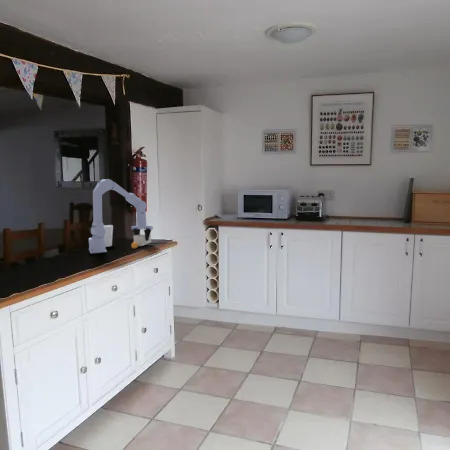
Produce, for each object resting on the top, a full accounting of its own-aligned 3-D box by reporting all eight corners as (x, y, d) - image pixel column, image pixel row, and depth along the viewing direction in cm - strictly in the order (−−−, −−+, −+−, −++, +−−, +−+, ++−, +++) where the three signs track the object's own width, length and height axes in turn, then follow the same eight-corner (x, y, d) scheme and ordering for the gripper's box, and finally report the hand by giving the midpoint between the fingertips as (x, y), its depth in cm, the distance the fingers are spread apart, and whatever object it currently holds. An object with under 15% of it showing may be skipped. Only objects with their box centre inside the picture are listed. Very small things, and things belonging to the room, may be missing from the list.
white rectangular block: (143, 242, 272) (142, 232, 271) (151, 242, 270) (150, 233, 269) (134, 245, 262) (133, 236, 261) (142, 245, 260) (141, 236, 259)
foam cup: (111, 246, 267) (110, 226, 266) (97, 247, 268) (95, 227, 266) (115, 244, 277) (114, 225, 275) (102, 244, 277) (100, 225, 275)
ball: (132, 249, 255) (131, 242, 255) (131, 248, 259) (130, 242, 259) (138, 248, 257) (138, 242, 256) (137, 247, 260) (137, 241, 260)
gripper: (154, 218, 266) (155, 239, 267) (135, 218, 271) (136, 239, 273) (148, 219, 259) (150, 241, 261) (129, 219, 264) (130, 241, 266)
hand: (142, 240), depth 266 cm, fingers closed on white rectangular block, 6 cm apart
